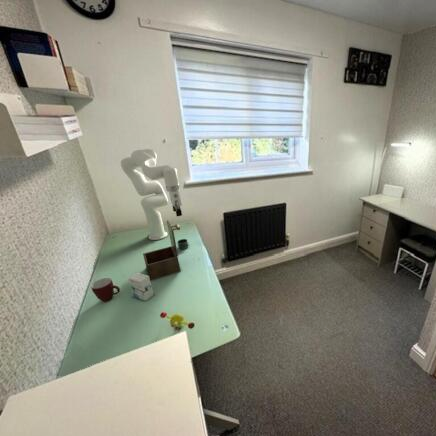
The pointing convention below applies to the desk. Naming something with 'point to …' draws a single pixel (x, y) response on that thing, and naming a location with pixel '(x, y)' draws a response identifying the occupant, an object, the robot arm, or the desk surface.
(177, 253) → the lid
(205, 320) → the desk surface
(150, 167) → the robot arm
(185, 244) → the bowl
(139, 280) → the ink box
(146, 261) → the chest
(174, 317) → the spiky dumbbell toy
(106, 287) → the mug
